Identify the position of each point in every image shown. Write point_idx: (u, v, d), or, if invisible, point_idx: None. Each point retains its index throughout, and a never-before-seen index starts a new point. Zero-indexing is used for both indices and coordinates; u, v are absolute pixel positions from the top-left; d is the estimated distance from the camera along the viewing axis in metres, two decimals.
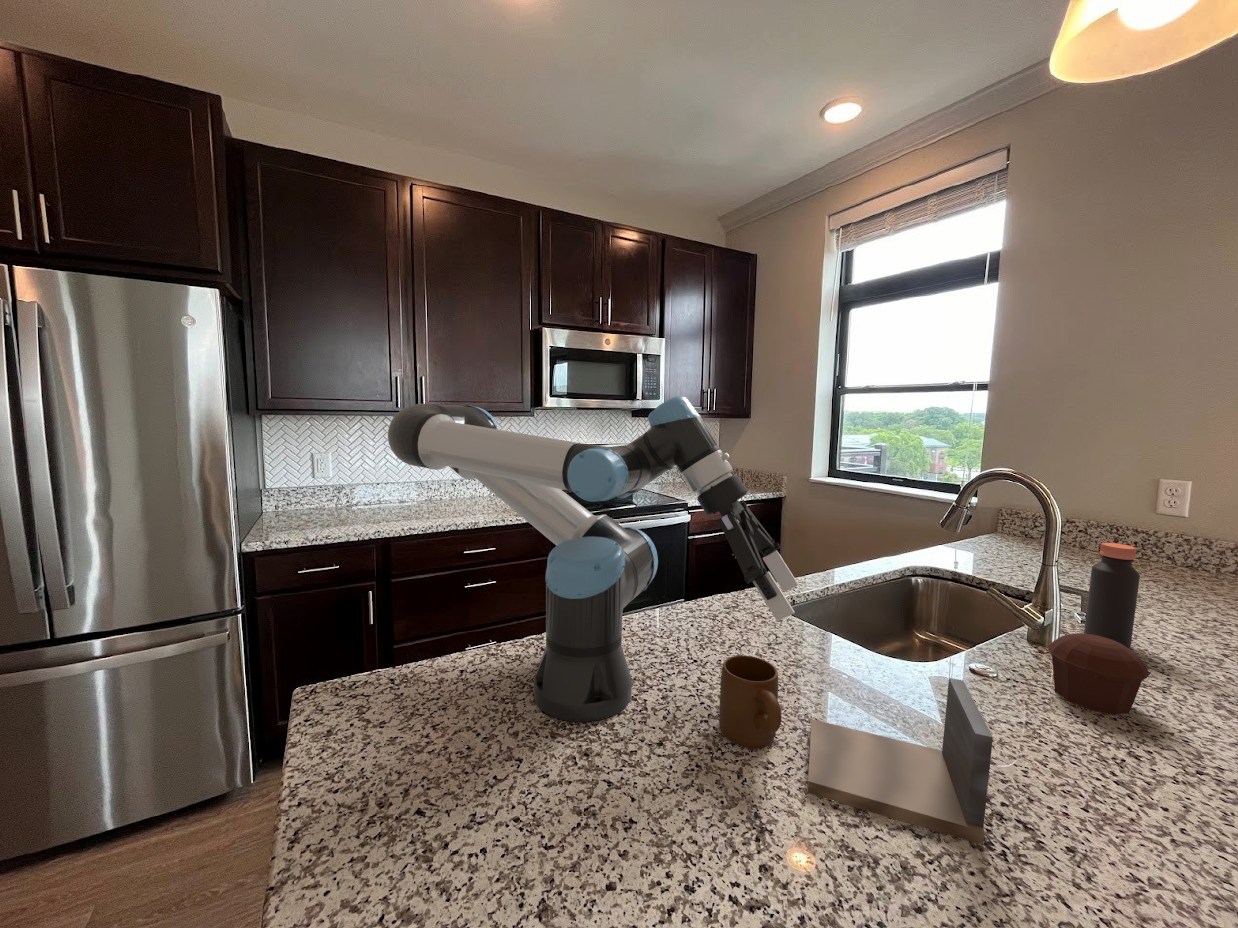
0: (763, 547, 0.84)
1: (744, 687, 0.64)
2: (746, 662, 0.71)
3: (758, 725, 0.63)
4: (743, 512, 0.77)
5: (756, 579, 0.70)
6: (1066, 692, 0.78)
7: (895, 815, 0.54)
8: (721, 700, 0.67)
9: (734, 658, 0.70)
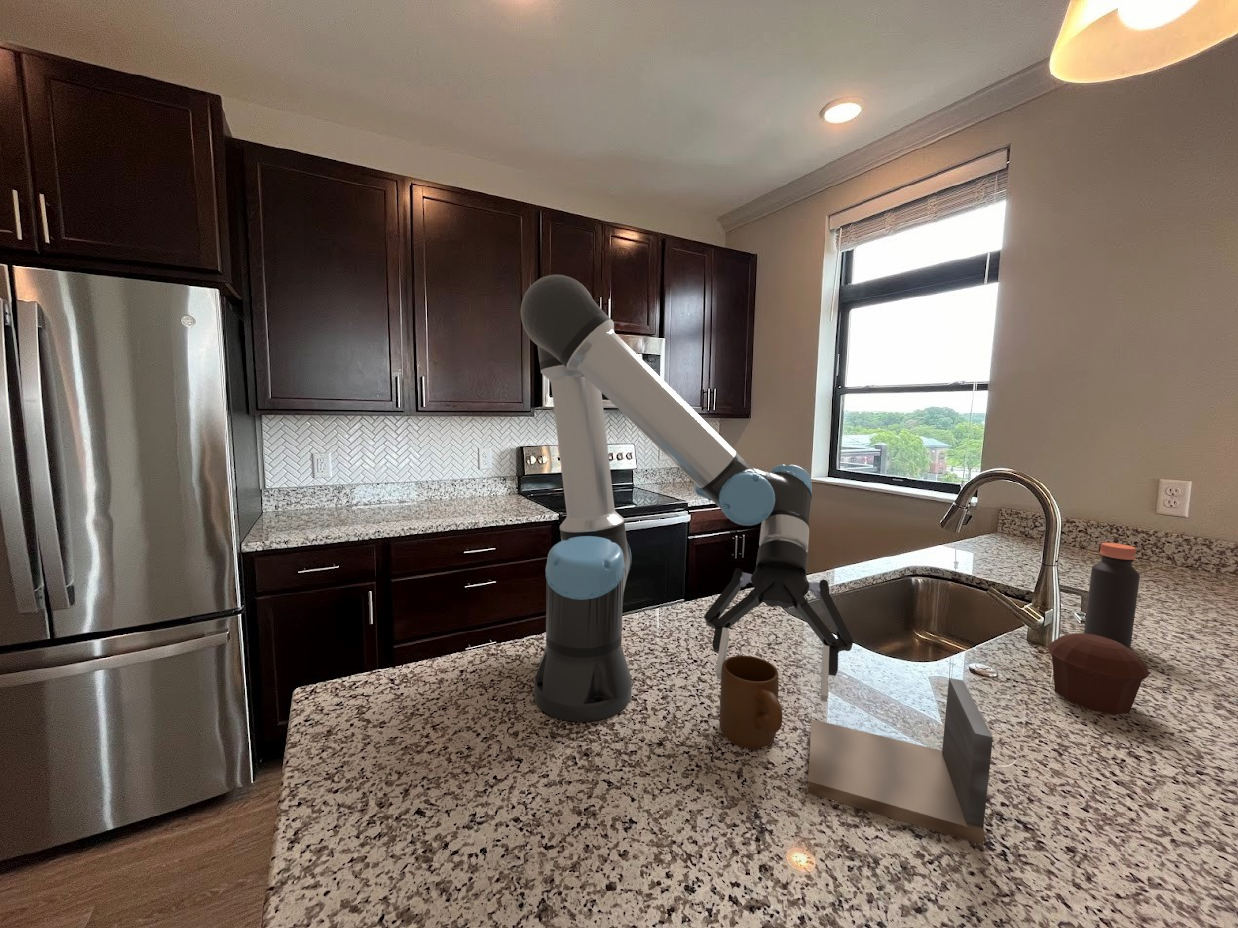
0: (731, 621, 0.74)
1: (745, 688, 0.64)
2: (746, 662, 0.71)
3: (759, 725, 0.63)
4: None
5: (839, 649, 0.67)
6: (1066, 692, 0.78)
7: (895, 815, 0.54)
8: (721, 700, 0.67)
9: (734, 658, 0.70)
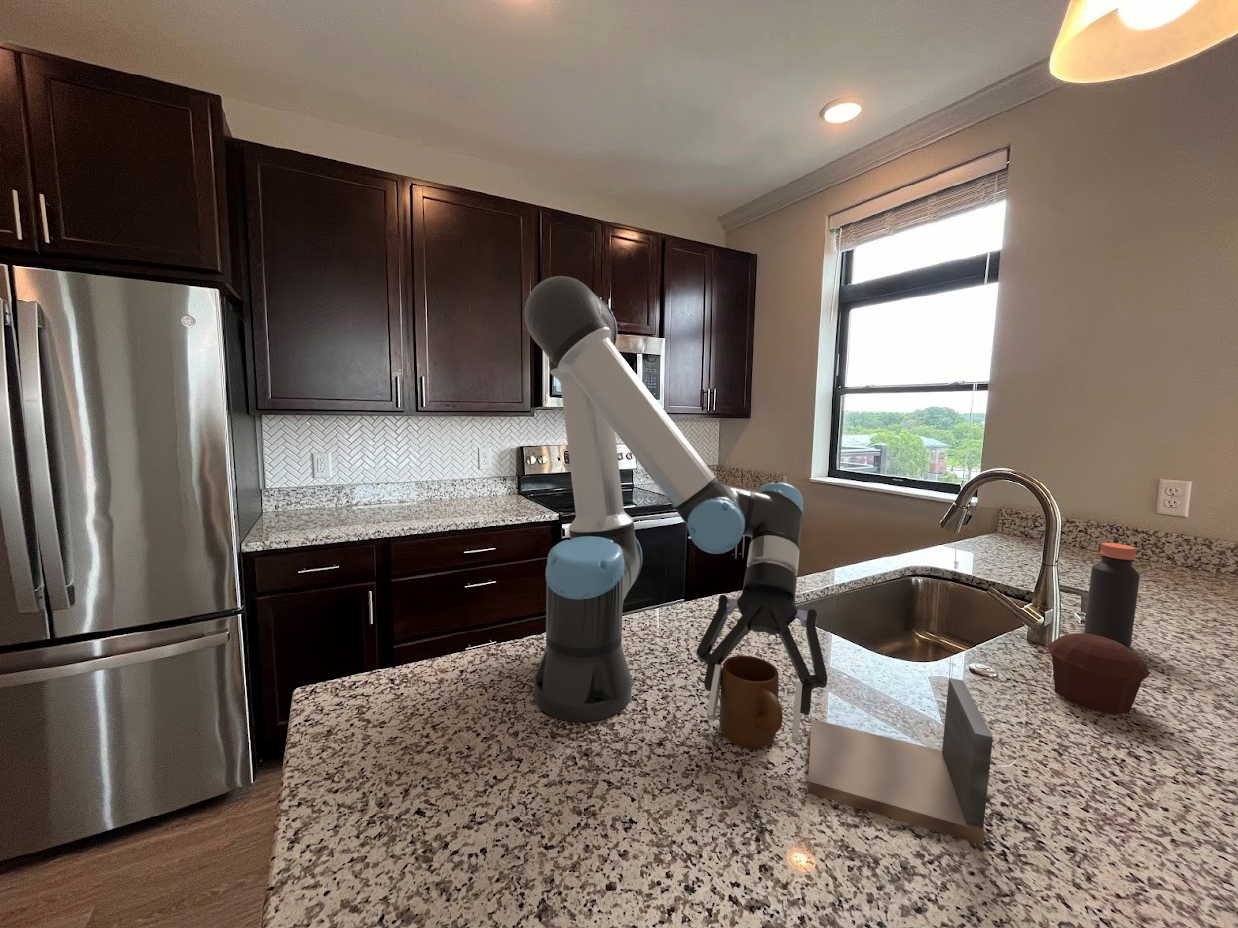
0: (724, 655, 0.70)
1: (745, 688, 0.64)
2: (746, 662, 0.71)
3: (759, 725, 0.63)
4: None
5: (813, 686, 0.64)
6: (1066, 692, 0.78)
7: (895, 815, 0.54)
8: (721, 700, 0.67)
9: (734, 658, 0.70)
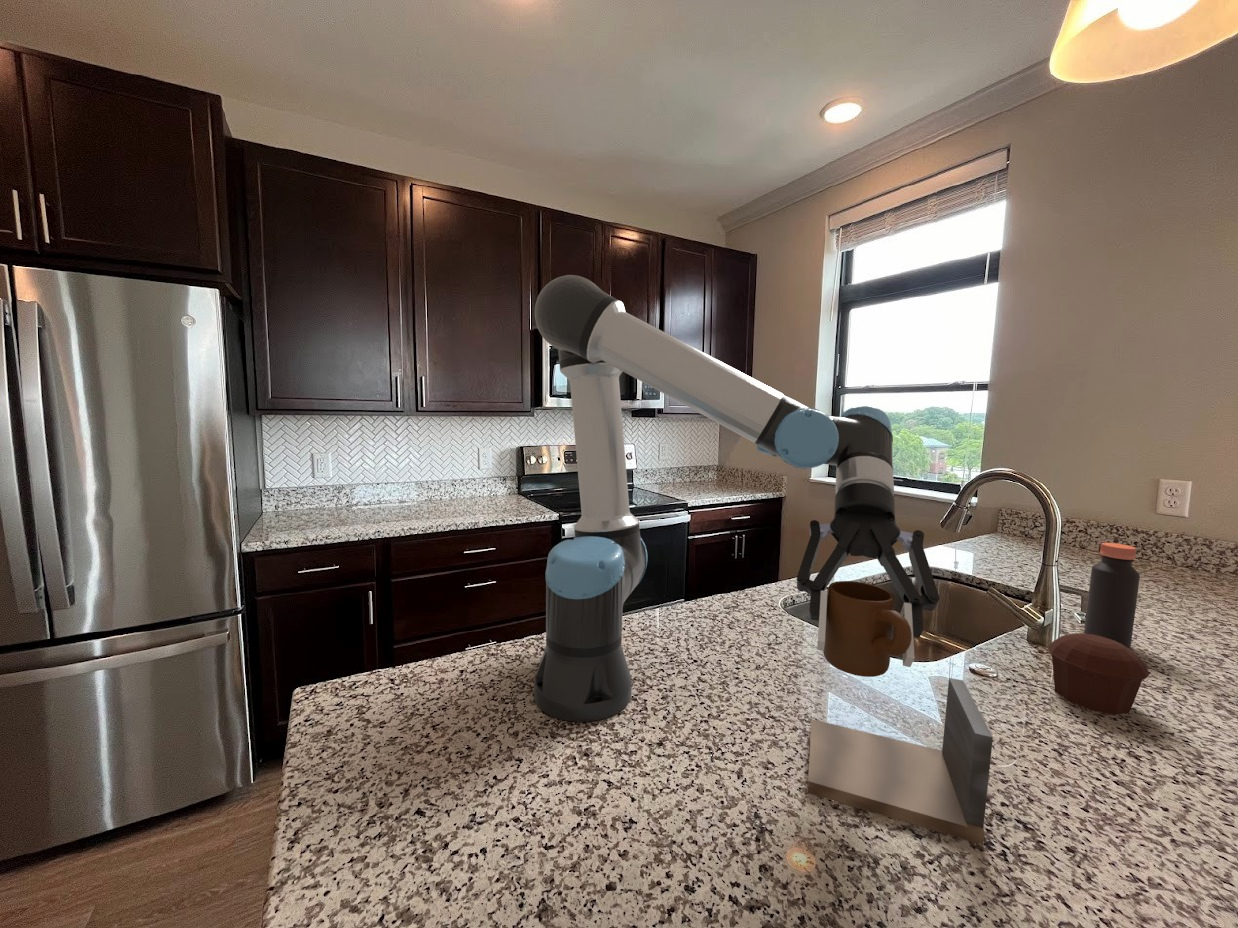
0: (827, 581, 0.63)
1: (861, 608, 0.58)
2: (850, 588, 0.65)
3: (878, 649, 0.57)
4: None
5: (923, 607, 0.58)
6: (1066, 692, 0.78)
7: (895, 815, 0.54)
8: (829, 626, 0.61)
9: (838, 583, 0.64)
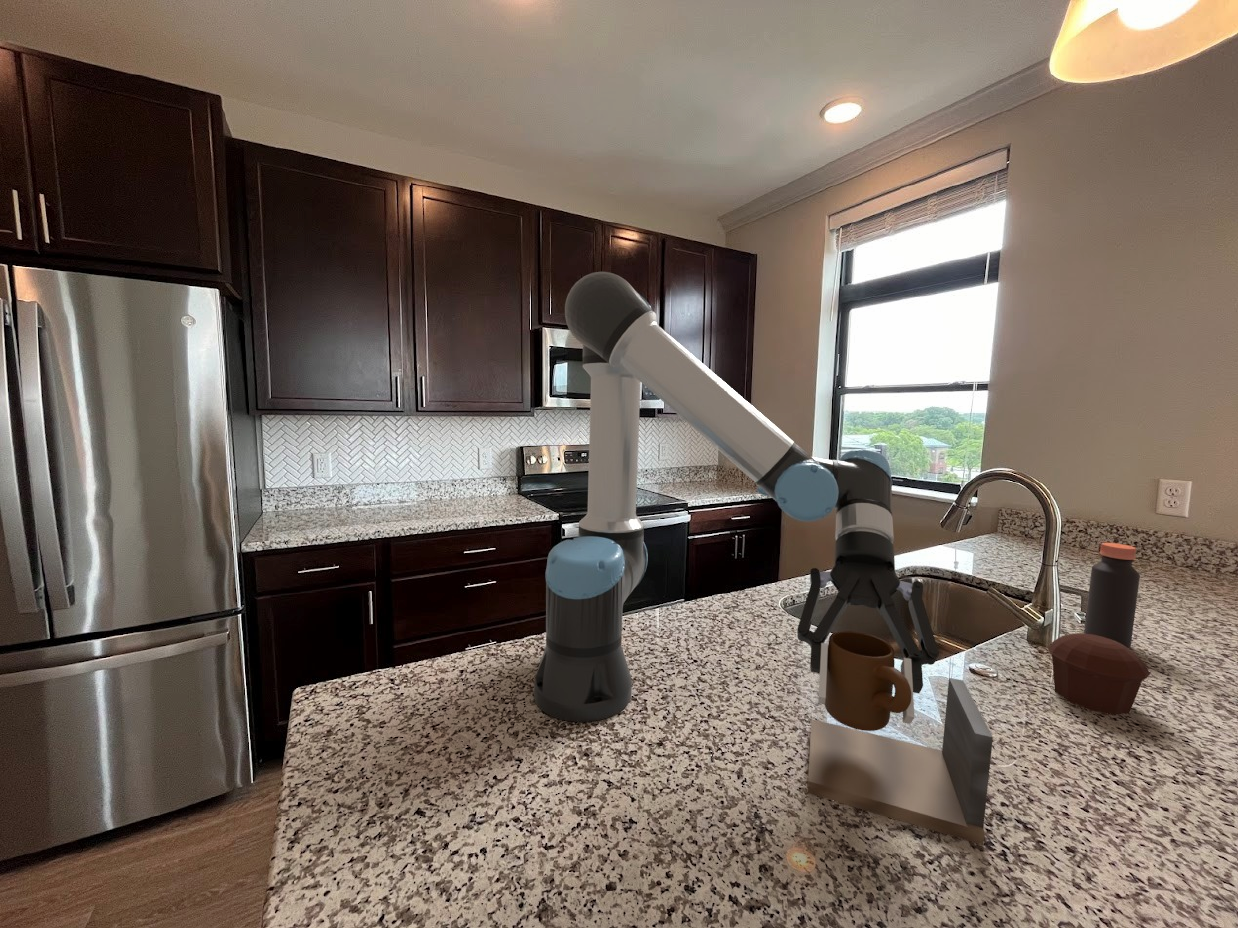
0: (827, 633, 0.64)
1: (862, 664, 0.58)
2: (851, 638, 0.65)
3: (879, 705, 0.57)
4: None
5: (922, 662, 0.59)
6: (1066, 692, 0.78)
7: (895, 815, 0.54)
8: (829, 679, 0.62)
9: (838, 634, 0.65)
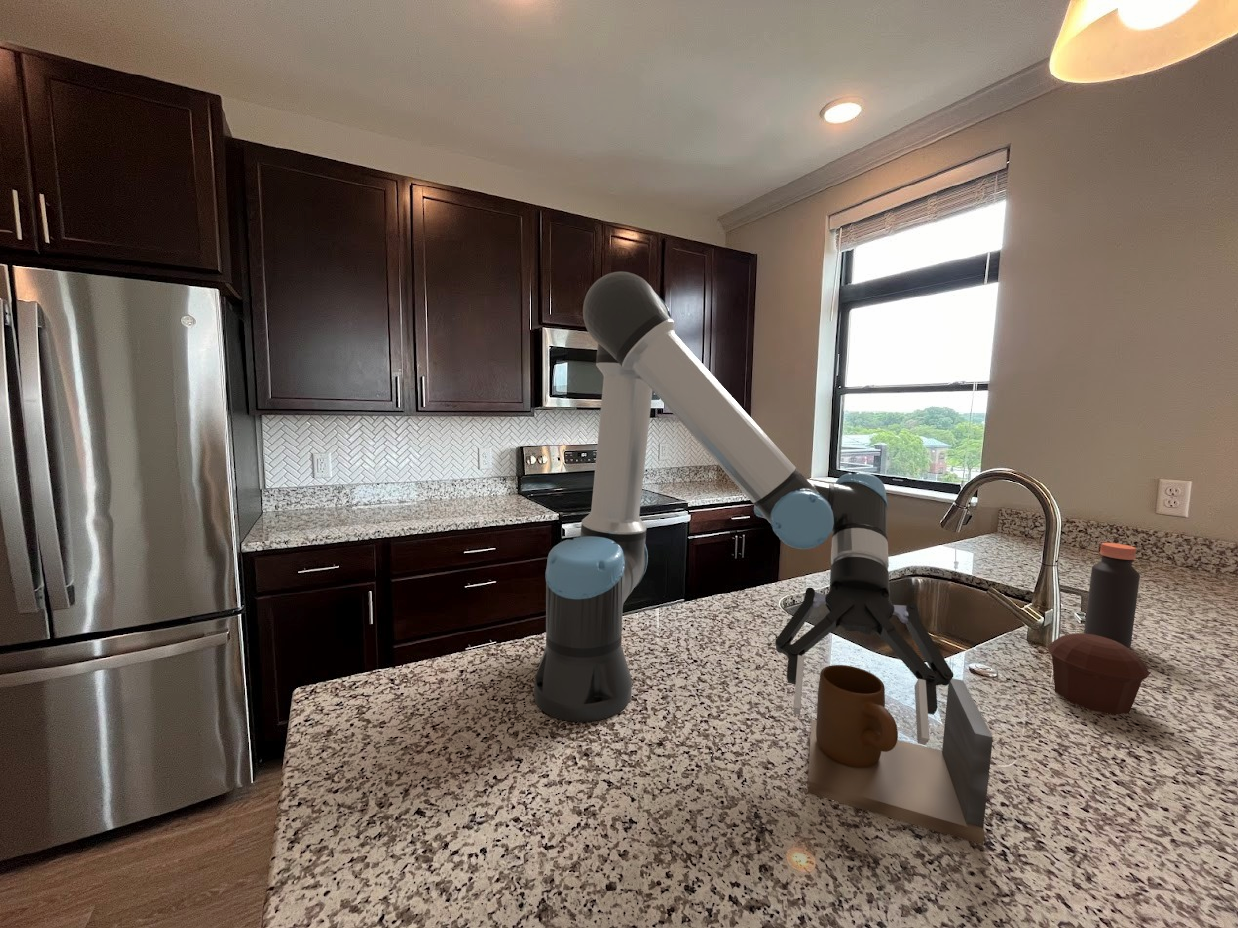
0: (806, 648, 0.66)
1: (850, 700, 0.59)
2: (844, 672, 0.66)
3: (867, 742, 0.58)
4: None
5: (937, 684, 0.59)
6: (1066, 692, 0.78)
7: (895, 815, 0.54)
8: (820, 713, 0.62)
9: (831, 668, 0.65)
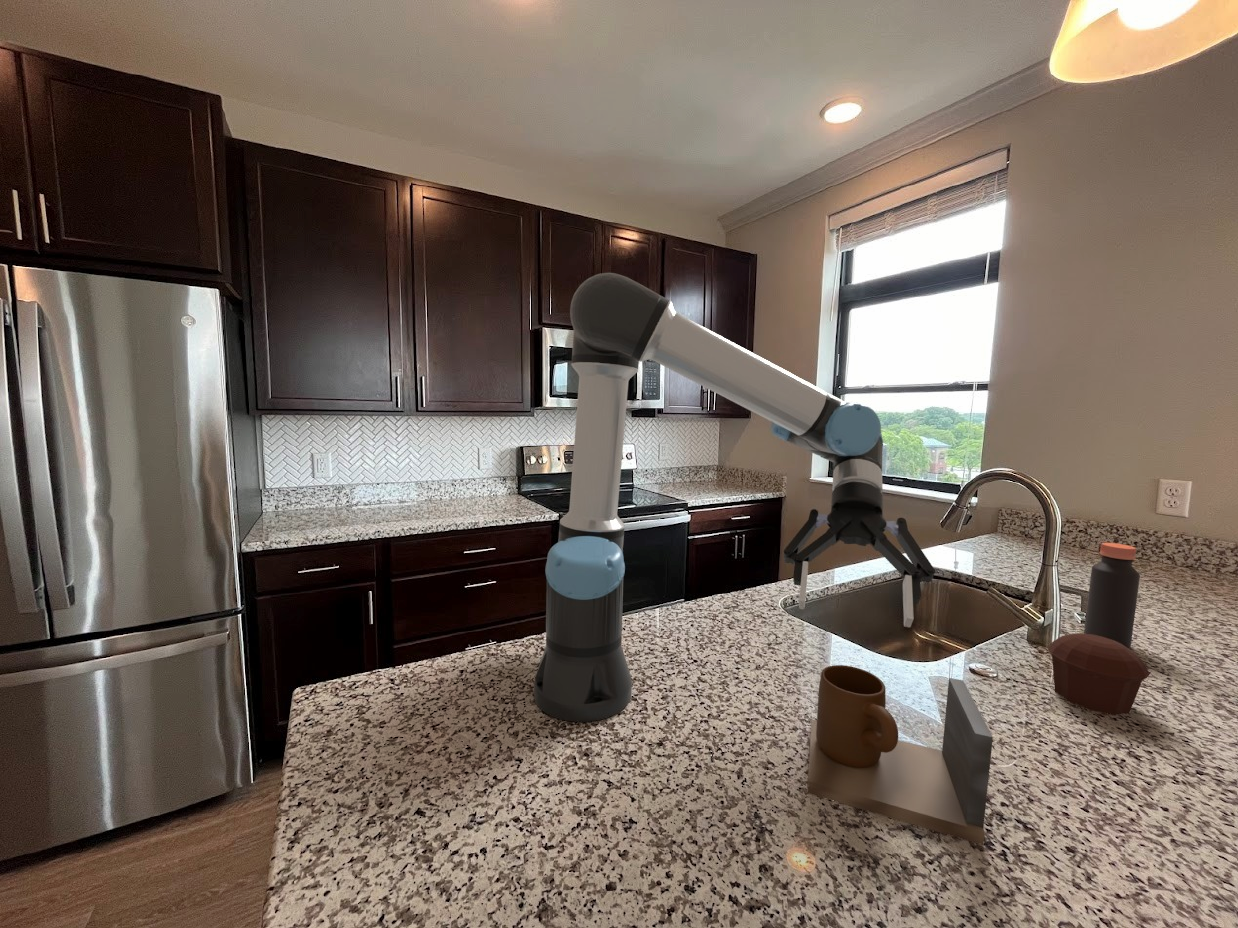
0: (810, 557, 0.76)
1: (851, 701, 0.59)
2: (844, 672, 0.65)
3: (867, 742, 0.58)
4: None
5: (921, 579, 0.70)
6: (1066, 692, 0.78)
7: (895, 815, 0.54)
8: (821, 713, 0.62)
9: (831, 668, 0.65)
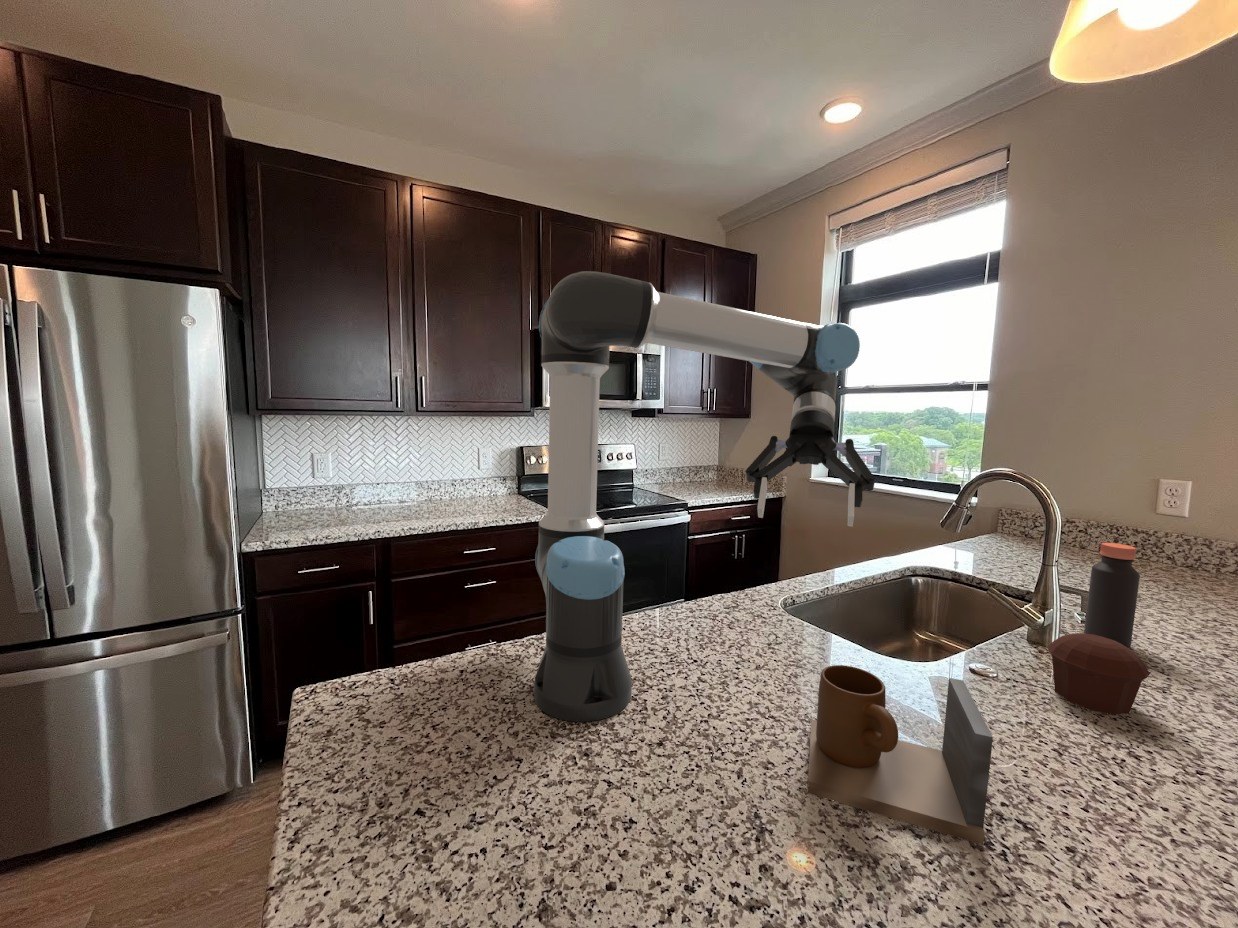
0: (769, 475, 0.86)
1: (851, 701, 0.59)
2: (844, 672, 0.66)
3: (867, 742, 0.58)
4: None
5: (863, 487, 0.79)
6: (1066, 692, 0.78)
7: (895, 815, 0.54)
8: (820, 713, 0.62)
9: (831, 668, 0.65)
